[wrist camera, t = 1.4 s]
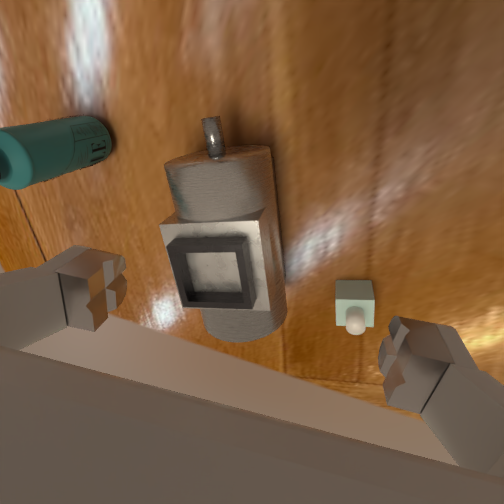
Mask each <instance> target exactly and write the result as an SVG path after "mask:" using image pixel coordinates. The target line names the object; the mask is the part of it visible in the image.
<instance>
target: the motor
mask: <svg viewBox="0 0 504 504" xmlns="http://www.w3.org/2000/svg"><path fill="white" fill-rule="evenodd" d="M201 120H202V125H203V131H204V136H205V141H206V146H207V150H205V151H200V152H196V153H191V154H188V155H184V156H180V157H177V158H175V159H172V160H170V161H168V162H166V163H165V164H164V168H165V172H166V176H167V180H168V184H169V188H170V192H171V196H172V200H173V204H174V208H175V212H174V213H173V214H172V215H171V216H169V217H168V218H167V219H166V220H164V221H163V222H162V223H161V224H159V226H160V230H161V233H162V237H163V240H164V244H165V247H166V251H167V254H168V258H169V262H170V265H171V269H172V272H173V276H174V279H175V283H176V286H177V290H178V293H179V297H180V301H181V304H182V308H200V310H201V314H202V318H203V322H204V326H205V328H206V330H207V331H208V332H209V333H210V334H211V335H212V336H214V337H216V338H217V339H220V340H223V341H228V342H247V341H253V340H256V339H260V338H262V337H265V336H267V335H269V334H271V333H272V332H274V331H275V330H276V329H278V328H279V327H280V326H281V325H282V323H283V322H284V320H285V318H286V316H287V303H286V293H285V284H284V280H285V276H286V274H285V265H284V255H283V245H282V235H281V226H280V216H279V206H278V197H277V187H276V177H275V167H274V158H273V157H271V152H270V147H268V146H263V145H243V146H232V147H225V145H224V139H223V133H222V127H221V121H220V116H215V117H208V118H203V119H201Z"/></svg>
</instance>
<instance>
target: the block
mask: <svg viewBox="0 0 504 504" xmlns="http://www.w3.org/2000/svg"><path fill="white" fill-rule="evenodd" d="M374 304H375V299H374V293H373V287H372V281H371V280H336V325H340V326H346V329H347V331H348V332H349V333H351V334H353V335H359V334H362V333H363V332H364V331H365V327H374Z"/></svg>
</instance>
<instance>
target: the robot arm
mask: <svg viewBox="0 0 504 504" xmlns="http://www.w3.org/2000/svg"><path fill="white" fill-rule="evenodd" d="M125 269H126V264H125V258H124V257H123V256H122V255H118V254H114V253H110V252H106V251H101V250H97V249H92V248H89V247H84V246H79V245H73V246H72V247H70V248H69V249H67V250H65V251H64V252H62V253H60V254H59V255H57V256H55V257H54V258H52V259H50V260H49V261H47V262H45V263H44V264H42V265H40V266H39V267H37V268H33V267H29V268H24V269H20V270H15V271H10V272H6V273H1V274H0V504H504V385H502V384H501V383H500V382H498V381H497V380H496V379H494V378H493V377H492V376H491V375H489V374H488V373H487V372H484V371H480V370H479V369H478V367H477V366H476V364H475V362H474V360H473V359H472V357H471V355H470V353H469V352H468V350H467V348H466V347H465V345H464V343H463V341H462V340H461V338H460V336H459V334H458V333H457V331H456V329H454V328H453V327H452V326H447V325H441V324H436V323H429V322H424V321H419V320H414V319H409V318H404V317H399V316H394V317H393V319H392V320H391V322H390V324H389V331H390V334H391V335H389V336H387V337H385V338H384V339H383V341H382V343H381V346H380V350H379V356H378V363H379V369H380V372H381V373H382V374H383V375H384V376H385V380H384V382H383V388H384V393H385V397H386V402H387V405H389V406H393V407H397V408H400V409H404V410H407V411H411V412H415V413H418V414H421V415H420V416H421V417H422V419H423V420H424V421H425V422H426V424H427V425H428V426H429V428H430V429H431V430H432V432H433V433H434V434H435V435H436V437H437V438H438V439H439V441H440V442H441V443H442V445H443V446H444V447H445V448H446V450H447V451H448V452H449V454H450V455H451V456H452V457H453V459H454V460H455V461H456V463H457V464H458V465H459V466H455V465H451V464H447V463H444V462H440V461H436V460H432V459H428V458H425V457H421V456H417V455H413V454H409V453H405V452H402V451H398V450H394V449H390V448H386V447H382V446H378V445H375V444H371V443H367V442H363V441H360V440H356V439H352V438H348V437H344V436H341V435H337V434H333V433H329V432H326V431H322V430H318V429H314V428H311V427H307V426H303V425H299V424H296V423H291V422H288V421H284V420H281V419H277V418H273V417H269V416H266V415H262V414H258V413H254V412H251V411H247V410H243V409H239V408H235V407H232V406H228V405H224V404H220V403H216V402H212V401H209V400H205V399H201V398H197V397H194V396H190V395H186V394H182V393H178V392H175V391H171V390H167V389H163V388H159V387H155V386H151V385H148V384H143V383H140V382H136V381H133V380H129V379H125V378H121V377H117V376H113V375H110V374H106V373H102V372H98V371H95V370H91V369H87V368H83V367H80V366H75V365H72V364H68V363H64V362H61V361H56V360H53V359H49V358H45V357H42V356H38V355H34V354H30V353H26V352H22V351H19V350H20V349H22V348H24V347H26V346H29V345H31V344H33V343H35V342H37V341H39V340H41V339H43V338H45V337H48V336H50V335H52V334H54V333H56V332H58V331H60V330H63V329H65V328H67V326H70V327H75V328H79V329H84V330H89V331H93V332H95V331H96V330H97V329H98V328H99V327H100V326H101V324H102V323H103V322H104V321H105V320H106V319H107V318H108V312H109V311H112V310H114V309H117V308H118V307H119V305H120V304H121V303H122V302H123V299H124V297H125V295H126V291H127V280H126V279H125V277H124V276H123V274H122V272H123V271H124V270H125Z"/></svg>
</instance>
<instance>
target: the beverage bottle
mask: <svg viewBox="0 0 504 504" xmlns="http://www.w3.org/2000/svg"><path fill="white" fill-rule="evenodd" d="M77 116H78V115H77ZM62 118H63V117H62ZM57 119H58V118H57ZM47 120H48V119H47ZM111 147H112V143H111V138H110V135H109V132H108V131H107V129H106V127H105V126H104V125H103V124H102V123H101V122H100V121H98V120H97V119H95V118H93V117H89V116H81V115H80V116H78V117H76V116H75V117H74V116H73V117H71V118H67V117H66V118H65V119H60V118H59V119H58V120H51V121H45V122H40V123H38V122H37V123H33V124H26V125H18V126H11V127H4V128H0V185H1V186H3V187H6V188H9V189H13V190H19V189H23V188H26V187H27V186H30V185H33V184H36V183H38V182H42V181H44V182H45V180H46V181H48V180H49V181H50V180H52V179H51V178H53V179H54V177H56V178H57V177H59V176H60V175H63V174H66V173H69V172H72V171H73V172H74V170H77V169H80V168H81V169H82V168H85V167H86V166H87V167H90V166H93V165H95V164H96V163H99V162H101V161H103V160H104V159H105V160H106V158H107V157H108V155H109V154H110V152H111ZM89 165H90V166H89ZM81 169H80V170H81Z"/></svg>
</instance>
